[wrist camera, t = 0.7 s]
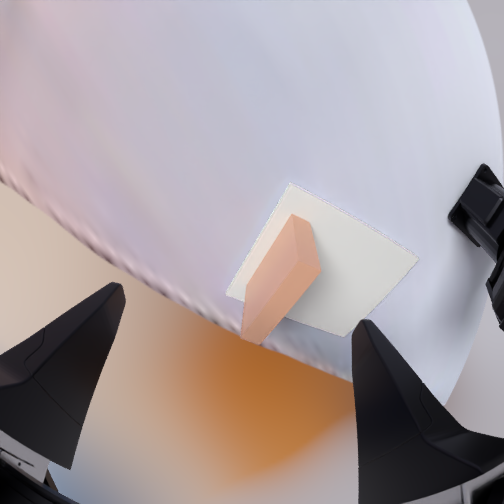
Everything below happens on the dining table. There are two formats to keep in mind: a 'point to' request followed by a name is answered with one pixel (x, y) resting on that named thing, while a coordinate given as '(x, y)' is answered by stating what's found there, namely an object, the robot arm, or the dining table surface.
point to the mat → (332, 263)
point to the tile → (280, 279)
